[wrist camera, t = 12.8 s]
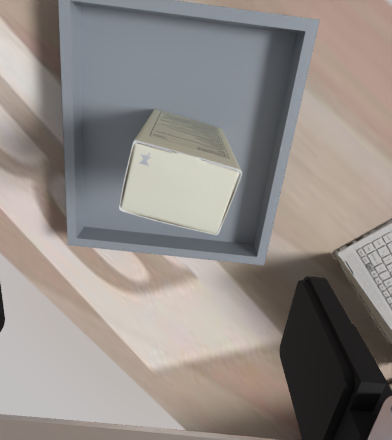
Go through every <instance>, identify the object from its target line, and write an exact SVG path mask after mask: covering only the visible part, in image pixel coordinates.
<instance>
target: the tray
mask: <svg viewBox="0 0 392 440" xmlns="http://www.w3.org/2000/svg"><path fill="white" fill-rule="evenodd" d="M58 5H59V31H60V57H61V83H62V109H63V135H64V161H65V187H66V214H67V240H68V245H72V246H82V247H92V248H101V249H111V250H121V251H130V252H140V253H149V254H159V255H169V256H178V257H188V258H198V259H207V260H217V261H226V262H236V263H246V264H255V265H264V263H265V259H266V254H267V250H268V246H269V241H270V237H271V232H272V228H273V224H274V219H275V215H276V210H277V206H278V201H279V197H280V193H281V188H282V184H283V179H284V175H285V171H286V166H287V162H288V157H289V153H290V149H291V144H292V140H293V135H294V131H295V127H296V122H297V118H298V113H299V109H300V105H301V100H302V96H303V91H304V87H305V82H306V78H307V74H308V69H309V65H310V60H311V56H312V52H313V47H314V43H315V38H316V34H317V30H318V25H319V21H320V20H317V19H310V18H302V17H295V16H287V15H280V14H272V13H265V12H257V11H250V10H242V9H235V8H227V7H219V6H212V5H204V4H197V3H189V2H182V1H174V0H58ZM154 109H157V110H161V111H165V112H169V113H172V114H176V115H180V116H183V117H186V118H190V119H193V120H197V121H200V122H203V123H206V124H209V125H212V126H215V127H218V128H221V129H222V130H223V132H224V134H225V136H226V138H227V141H228V143H229V145H230V147H231V149H232V152H233V154H234V156H235V158H236V160H237V163H238V165H239V167H240V169H241V171H242V176H241V179H240V182H239V184H238V187H237V190H236V192H235V195H234V197H233V200H232V202H231V205H230V208H229V210H228V213H227V215H226V217H225V220H224V222H223V224H222V227H221V229H220V232H219V234H218V235H213V234H209V233H204V232H199V231H195V230H190V229H186V228H182V227H178V226H174V225H170V224H165V223H162V222H158V221H154V220H150V219H146V218H143V217H139V216H136V215H133V214H129V213H126V212H123V211H121V210H120V209H119V203H120V197H121V191H122V186H123V182H124V177H125V173H126V169H127V164H128V160H129V156H130V152H131V148H132V144H133V141H134V139H135V138H136V137H137V135H138V133H139V132H140V130H141V129H142V127H143V126H144V124H145V123H146V121H147V119H148V118H149V116H150V115H151V113H152V112H153V110H154Z"/></svg>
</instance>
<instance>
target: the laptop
mask: <svg viewBox="0 0 392 440" xmlns="http://www.w3.org/2000/svg"><path fill="white" fill-rule="evenodd" d="M362 237H363V238H361V239H360V240H358V241H356V240H354V241H352V244H351V245H348V247H347V246H346V245H345V246H343V247H341V248H340V249H338V250H336V251H335V254H336V255H335V256H336V258H337V260H338V262H339V263H340V266H341V268H342V270H343V271H344V273H345V274H346V276H347V277H348V278H349V279H350V280H351V282H352V283H353V285H354V287H355V288H356V290H357V291H358V293H359V294H360V296H361V298H362V299H363V301H364V302H365V304H366V305H367V307H368V309H369V310H370V312H371V313H372V315H373V316H374V318H375V320H376V321H377V323H378V324H379V326H380V327H381V329H382V331H383V332H384V334H385V335H386V337H387V338H388V340H389V342H390V343H391V345H392V220H390V221H388V222H386V223H384V224H383V225H381V226H379V227H377V228H376V229H374V230H372V231H370V232H368V233H367V234H365V235H363V236H362ZM345 261H346V262H347V263H346V262H345ZM347 264H348V265H349V267H350V268H351V270H352V271H351V270H350V268H349V267H348V265H347Z"/></svg>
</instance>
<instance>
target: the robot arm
mask: <svg viewBox="0 0 392 440" xmlns="http://www.w3.org/2000/svg"><path fill="white" fill-rule="evenodd" d="M4 322H5V316H4V308H3V300H2V293H1V285H0V332H1V330H2V328H3V326H4ZM280 358H281V362H282V366H283V369H284V373H285V377H286V381H287V384H288V388H289V392H290V395H291V399H292V403H293V407H294V410H295V414H296V418H297V421H298V425H299V429H300V433H301V436H302V440H392V383H391V384H390V385H389V384H388V383H387V381H386V379H385V377H384V376H383V374H382V372H381V371H380V369H379V367H378V365H377V364H376V362H375V360H374V358H373V357H372V355H371V353H370V352H369V350H368V348H367V346H366V345H365V343H364V341H363V339H362V338H361V336H360V334H359V332H358V331H357V329H356V328H355V326H354V325H353V324H352V323H351V322H350V320H349V318H348V316H347V315H346V313H345V311H344V309H343V308H342V306H341V304H340V302H339V301H338V299H337V297H336V295H335V294H334V292H333V290H332V288H331V287H330V285H329V283H328V281H327V280H326V279H325V278H318V277H309V276H307V277H305V279H304V281H303V280H300V281H299V282H298V284H297V287H296V291H295V295H294V298H293V302H292V305H291V309H290V312H289V316H288V320H287V323H286V327H285V330H284V334H283V337H282V341H281V345H280ZM0 440H277V439H268V438H259V437H249V436H239V435H228V434H217V433H207V432H196V431H185V430H174V429H164V428H153V427H142V426H130V425H118V424H107V423H97V422H85V421H73V420H62V419H50V418H39V417H26V416H15V415H2V414H0Z"/></svg>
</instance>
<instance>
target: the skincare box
mask: <svg viewBox="0 0 392 440" xmlns="http://www.w3.org/2000/svg"><path fill="white" fill-rule="evenodd" d="M241 176H242V171H241V169H240V167H239V165H238V163H237V160H236V158H235V156H234V154H233V152H232V149H231V147H230V145H229V143H228V141H227V138H226V136H225V134H224V132H223V130H222V129H221V128H218V127H215V126H212V125H209V124H206V123H203V122H200V121H197V120H193V119H190V118H186V117H183V116H180V115H176V114H172V113H169V112H165V111H161V110H157V109H154V110H153V112H152V113H151V115H150V116H149V118H148V119H147V121H146V123H145V124H144V126H143V127H142V129H141V130H140V132H139V133H138V135H137V137H136V138H135V139H134V141H133V144H132V148H131V152H130V156H129V160H128V164H127V169H126V173H125V177H124V182H123V186H122V191H121V197H120V203H119V209H120V210H121V211H123V212H126V213H129V214H133V215H136V216H139V217H143V218H146V219H150V220H154V221H158V222H162V223H165V224H170V225H174V226H178V227H182V228H186V229H190V230H195V231H199V232H204V233H209V234H213V235H218V234H219V232H220V229H221V227H222V224H223V222H224V220H225V217H226V215H227V213H228V210H229V208H230V205H231V202H232V200H233V197H234V195H235V192H236V190H237V187H238V184H239V182H240V179H241Z"/></svg>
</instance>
